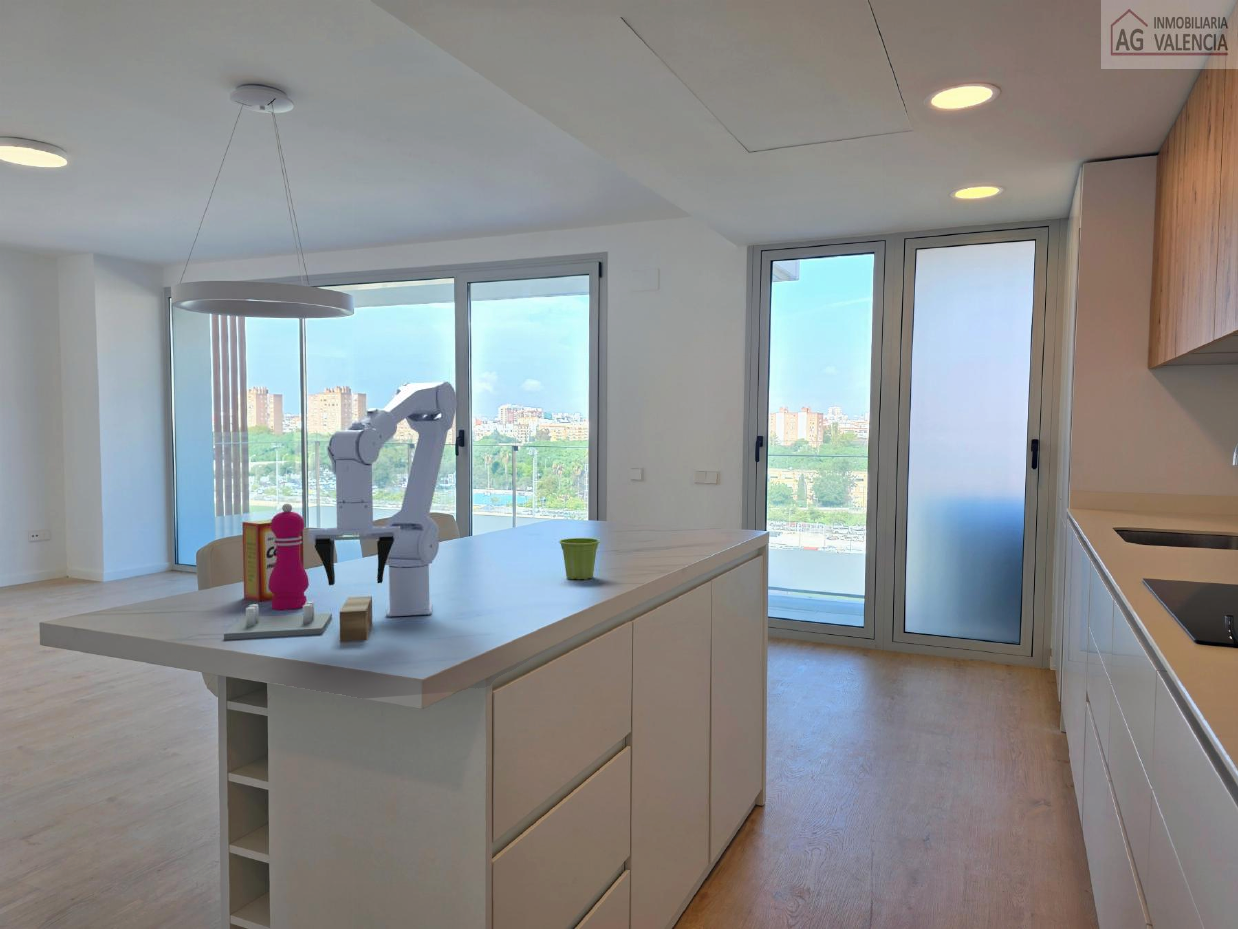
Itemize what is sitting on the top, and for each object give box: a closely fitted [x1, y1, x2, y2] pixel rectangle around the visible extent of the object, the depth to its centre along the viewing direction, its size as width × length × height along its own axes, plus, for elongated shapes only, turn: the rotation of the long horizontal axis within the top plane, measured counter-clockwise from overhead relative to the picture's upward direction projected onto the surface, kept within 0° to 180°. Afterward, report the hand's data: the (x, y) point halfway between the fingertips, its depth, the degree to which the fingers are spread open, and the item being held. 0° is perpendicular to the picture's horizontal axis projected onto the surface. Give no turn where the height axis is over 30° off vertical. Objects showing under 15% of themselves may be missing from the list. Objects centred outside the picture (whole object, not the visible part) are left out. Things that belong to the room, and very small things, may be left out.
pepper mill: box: [268, 503, 310, 611], centre depth 154 cm, size 7×7×20 cm
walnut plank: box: [339, 595, 373, 643], centre depth 133 cm, size 12×4×5 cm, turn 13°
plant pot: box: [558, 537, 601, 581], centre depth 183 cm, size 9×9×9 cm
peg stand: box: [223, 601, 333, 641], centre depth 136 cm, size 12×15×4 cm
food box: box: [241, 518, 305, 603], centre depth 164 cm, size 10×6×16 cm
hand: (356, 583), depth 132 cm, fingers open, 7 cm apart
